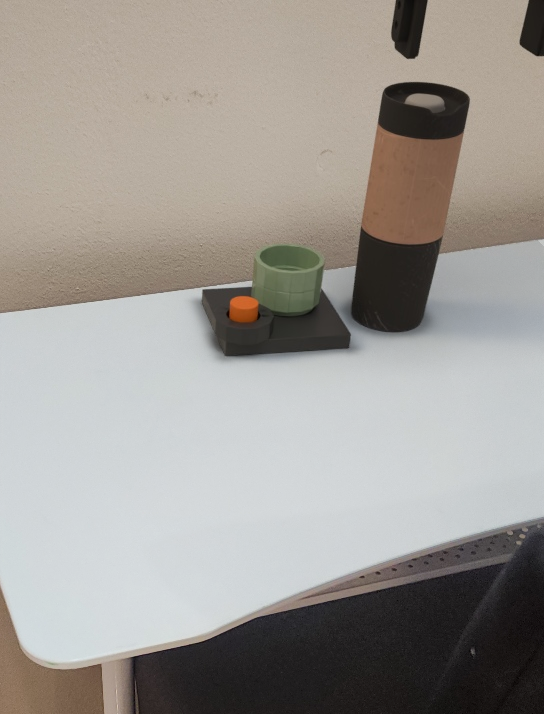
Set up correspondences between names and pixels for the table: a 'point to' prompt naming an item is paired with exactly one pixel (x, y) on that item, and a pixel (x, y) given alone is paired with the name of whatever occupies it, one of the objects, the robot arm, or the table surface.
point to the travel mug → (407, 202)
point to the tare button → (243, 309)
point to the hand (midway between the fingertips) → (469, 52)
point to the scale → (273, 326)
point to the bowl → (287, 278)
